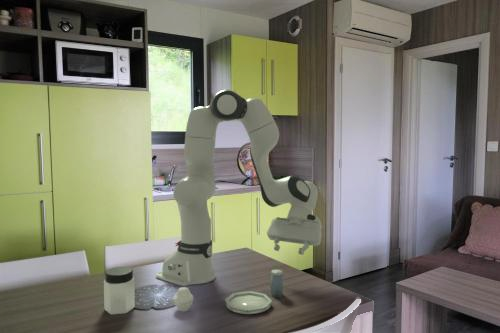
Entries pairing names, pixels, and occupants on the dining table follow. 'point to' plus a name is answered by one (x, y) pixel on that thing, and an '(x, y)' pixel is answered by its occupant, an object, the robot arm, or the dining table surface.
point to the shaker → (277, 283)
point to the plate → (248, 302)
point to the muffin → (183, 299)
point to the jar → (119, 290)
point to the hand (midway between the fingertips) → (288, 251)
